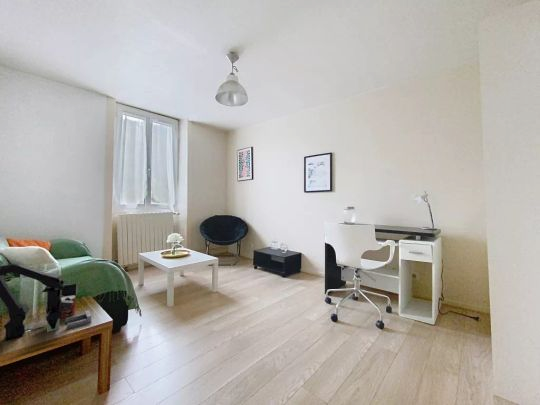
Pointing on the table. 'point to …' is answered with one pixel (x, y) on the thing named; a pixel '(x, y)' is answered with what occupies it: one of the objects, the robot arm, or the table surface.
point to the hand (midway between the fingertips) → (53, 325)
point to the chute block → (55, 326)
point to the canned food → (66, 311)
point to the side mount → (78, 317)
